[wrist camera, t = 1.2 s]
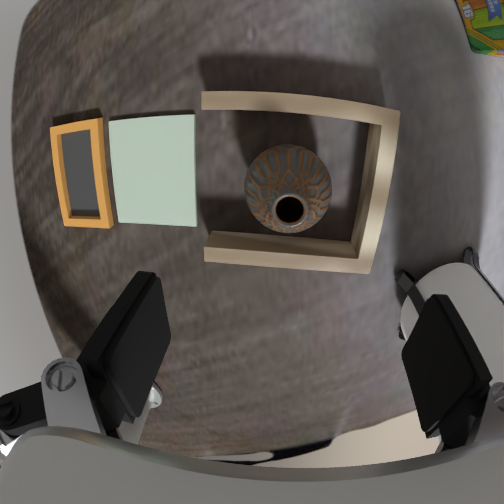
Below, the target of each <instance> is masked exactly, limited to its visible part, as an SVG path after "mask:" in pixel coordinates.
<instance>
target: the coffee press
mask: <svg viewBox="0 0 504 504" xmlns="http://www.w3.org/2000/svg"><path fill="white" fill-rule="evenodd" d="M471 254H472V256H473V264H474V266H475V268H476V269H477V270H478V271H477V270H476V269H475V268H474V267H472V266H470V265H469V262H470V256H471ZM395 280H396V282H397V283H398V284H399V285H400V286H401V287H402V288H403V289H404V290H405V292H406V293H407V294H408V296H407V297H406V299H405V301H404V304H403V307H402V310H401V316H400V324H401V328H402V329H401V330H400V332H399V338H400V339H403V340H405V341H406V342H407V340H408V338H409V336H410V334H411V332H412V330H413V328H414V326H415V324H416V322H417V319H418V317H419V315H420V313H421V311H422V309H423V306H424V304H425V302H426V300H427V299H428V298H430V297H431V295H432V294H446V295H448V296H449V298H450V300H451V301H452V303H453V304H454V306H455V308H456V309H457V311H458V313H459V314H460V316H461V318H462V320H463V321H464V323H465V325H466V327H467V328H468V330H469V332H470V334H471V336H472V337H473V339H474V341H475V343H476V345H477V347H478V349H479V351H480V353H481V354H482V356H483V358H484V360H485V363H486V365H487V367H488V369H489V371H490V373H491V375H492V377H493V379H492V380H491V382H490V383H489V384H490V386H492V385H493V384H494V383H497V382H503V383H504V299H503V297H502V296H501V295H500V293H499V292H498V291H497V290H496V288H495V287H494V286H493V285H492V283H491V282H490V281H489V280H488V279H487V277H486V276H485V275H484V274H483V272H482V271H481V270H480V267H479V257H478V253H477V252H476V251H475V250H474V249H473V248H472V247H467V248H466V249H465V251H464V254H463V263H450V264H446V265H443V266H440V267H438V268H436V269H434V270H432V271H431V272H429V273H428V274H426V275H425V276H424V277H423V278H422V279H420V280H419V281H417V280H416V279H415V278H414V277H413V276H411V275H410V274H409V273H408V272H407V271H405V270H404V269H402V270H401V271H400V273H399V274H398V275H397V277H396V278H395ZM437 441H438V445H439V444H440V442H441V435H439V436H437Z"/></svg>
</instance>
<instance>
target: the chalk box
mask: <svg viewBox="0 0 504 504" xmlns="http://www.w3.org/2000/svg"><path fill="white" fill-rule="evenodd" d="M456 2H457V5H458V8H459V10H460V13H461V16H462V19H463V22H464V25H465V28H466V31H467V34H468V38H469V41H470V45H471V49H472V51H473V52H475V53H480V54H486V55H492V56H498V57H504V0H456Z"/></svg>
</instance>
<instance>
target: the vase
mask: <svg viewBox="0 0 504 504" xmlns="http://www.w3.org/2000/svg"><path fill="white" fill-rule="evenodd" d="M244 192H245V198H246V202H247V204H248V207H249V209H250V211H251V212H252V214H253V215H254V216H255V218H256V219H257V220H258V221H259V222H260V223H262V224H263V225H264V226H266V227H268V228H269V229H272V230H274V231H277V232H282V233H296V232H300V231H303V230H306V229H308V228H310V227H312V226H313V225H315V224H316V223H317V222H318V221H319V220H320V219H321V218H322V217H323V215H324V214H325V212H326V210H327V208H328V206H329V203H330V200H331V195H332V184H331V178H330V175H329V172H328V170H327V168H326V166H325V165H324V163H323V162H322V161H321V159H320V158H319V157H318V156H317V155H316V154H314V153H313V152H312V151H310V150H308V149H306V148H304V147H302V146H299V145H294V144H281V145H276V146H273V147H270V148H268V149H266V150H265V151H263V152H262V153H261V154H259V155H258V156H257V157H256V158H255V160H254V161H253V162H252V164H251V165H250V167H249V169H248V171H247V174H246V178H245V183H244Z"/></svg>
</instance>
